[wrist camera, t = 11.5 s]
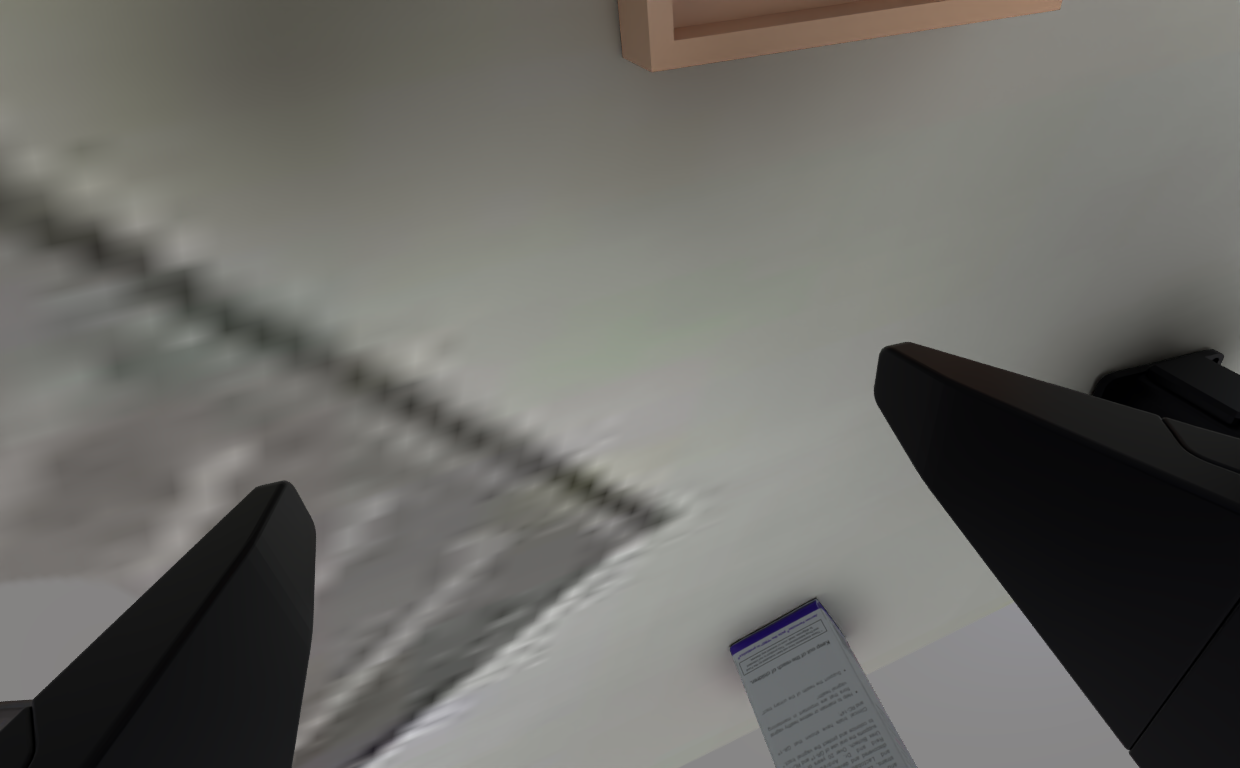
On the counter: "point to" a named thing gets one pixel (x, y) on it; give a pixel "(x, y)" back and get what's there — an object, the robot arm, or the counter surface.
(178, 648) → the robot arm
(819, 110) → the counter surface
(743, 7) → the bin
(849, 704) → the supplement box
